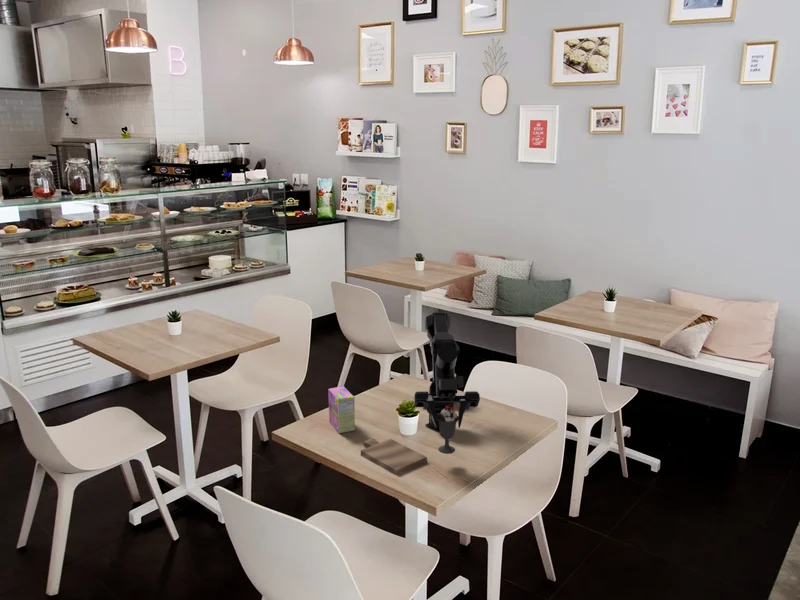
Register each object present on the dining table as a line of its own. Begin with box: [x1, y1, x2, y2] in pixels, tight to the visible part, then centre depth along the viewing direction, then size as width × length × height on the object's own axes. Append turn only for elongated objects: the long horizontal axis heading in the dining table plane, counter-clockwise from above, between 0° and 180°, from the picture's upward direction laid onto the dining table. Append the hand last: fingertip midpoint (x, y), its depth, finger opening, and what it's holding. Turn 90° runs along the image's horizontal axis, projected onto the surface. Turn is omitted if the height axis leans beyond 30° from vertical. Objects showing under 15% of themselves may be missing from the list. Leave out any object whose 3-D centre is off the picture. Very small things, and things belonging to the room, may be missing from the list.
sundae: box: [436, 400, 459, 455], centre depth 190 cm, size 7×7×15 cm
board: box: [360, 438, 428, 476], centre depth 198 cm, size 20×12×2 cm, turn 42°
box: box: [327, 386, 356, 434], centre depth 217 cm, size 10×6×12 cm, turn 23°
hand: (448, 427), depth 189 cm, fingers closed on sundae, 6 cm apart
